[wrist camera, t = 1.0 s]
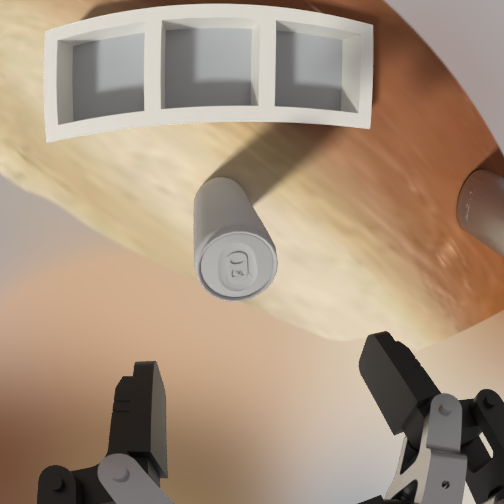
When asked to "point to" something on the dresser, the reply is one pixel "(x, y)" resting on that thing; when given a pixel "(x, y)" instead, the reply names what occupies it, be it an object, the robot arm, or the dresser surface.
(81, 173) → the dresser surface
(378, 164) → the dresser surface
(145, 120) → the can caddy
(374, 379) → the robot arm
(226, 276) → the beverage can
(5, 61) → the dresser surface
